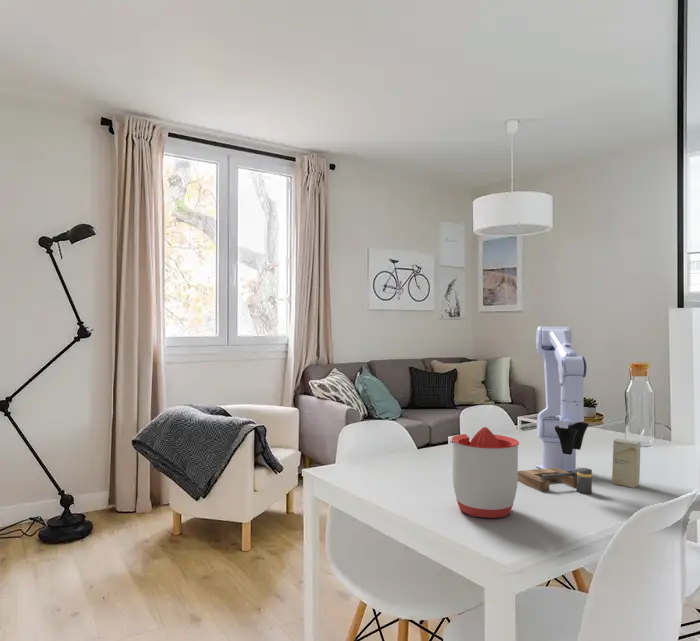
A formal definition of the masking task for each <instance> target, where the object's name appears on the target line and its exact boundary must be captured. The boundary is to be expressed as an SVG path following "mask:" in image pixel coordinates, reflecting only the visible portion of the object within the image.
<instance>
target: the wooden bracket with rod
mask: <svg viewBox="0 0 700 641" xmlns="http://www.w3.org/2000/svg"><path fill="white" fill-rule="evenodd" d="M517 482H519V483H521V484H523V485H526V486H528V487H530V488H532V489H534V490H536V491H539V492H546V491H550V482H558V483H561V484H564V485H566V486H569V487H572V488H573V489H574V488H576V489H577V471H570V472H566V471H564V470H561V469H558V468H547V469H540V468H538V469H537V468H536V469H527V470H526V469H525V470H518V481H517Z"/></svg>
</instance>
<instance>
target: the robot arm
mask: <svg viewBox="0 0 700 641" xmlns="http://www.w3.org/2000/svg"><path fill="white" fill-rule="evenodd" d="M535 330H536V331H535V344H536V345H535V349H536V353H537V354H538V355H540V356H542V361H543V367H544V368H543V369H544V370H543V371H544V372H543V373H544V388H545V389H544V390H545V392H544V393H545V408H544V409H542V410H541V411H540V412H538V414H537V417H536V418H537V419H536V420H537V421H536V434H537V435H536V436H537V437H538V438H539V439H541V464H536V465H535V467H536V468H538V469H547V468H558V469H561V470H564V471H566V472H569V473H571V472H573V471H576V472H577V468H576V465H577V464H576V461H577V459H576V458H577V457H576V454H577V453H576V452H577V450H578V451H579V450H581V448H582V444H583V440H584V436H585V434H586V431H587V429H588V428H589V423H588V422H585V416H584V402H585V401H584V398H585V395H584V392H585V391H584V390H585V389H584V387H585V384H584V382H585V381H584V379H585V378H586V376H587V374H588V373H587V371H588V365H587V359H586V357H585V355H579V353H578V352H577V349H576V348H575V346H574V345H573V344H572V340H573V339H572V337H573V334H572V329H571V327H569V326H568V325H566V326H542V325H539V326H538V327H537V328H536V329H535Z"/></svg>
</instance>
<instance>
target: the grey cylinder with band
mask: <svg viewBox="0 0 700 641" xmlns="http://www.w3.org/2000/svg"><path fill="white" fill-rule="evenodd" d="M576 469H577V471H576V472H577V487H576V492H577V493H579V494H583V495H591V494H593V490H592V489H593V486H592V484H593V469H590V468H588V467H578V468H576Z"/></svg>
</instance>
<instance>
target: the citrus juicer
mask: <svg viewBox="0 0 700 641" xmlns="http://www.w3.org/2000/svg"><path fill="white" fill-rule="evenodd" d="M451 441H452V484H453V489H454V494H455V497H456V499H455V500H456V502H457V505H458V507H459V510H460V511H462V513H465V514H467V515H469V516H470V517H472V518H487V519H489V518H490V519H491V518H492V519H495V518H505V517H506V516H508V515H509V514H510V512H511V511H512V508H513V506H514V502H515V498H516V494H517V490H518V482H519V481H518V471H519V469H518V468H519V465H518V464H519V463H518V462H519V458H518V457H519V456H518V454H519V452H518V451H519V445H520V442H519V440H518V439H516V438H513V437H510V436H507V435H501V434H494V433H493V432H492V431H491V430H490V429H489V428H488V427H486V426H484V427H482V428H481V429H479V430H478V431H477V432H476V434H474V435H473V437H472V438H471V440H470V436H468V435H467V434H466V433H464V434H461V433H460V434H457V435H454V436H453V437H451Z"/></svg>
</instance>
